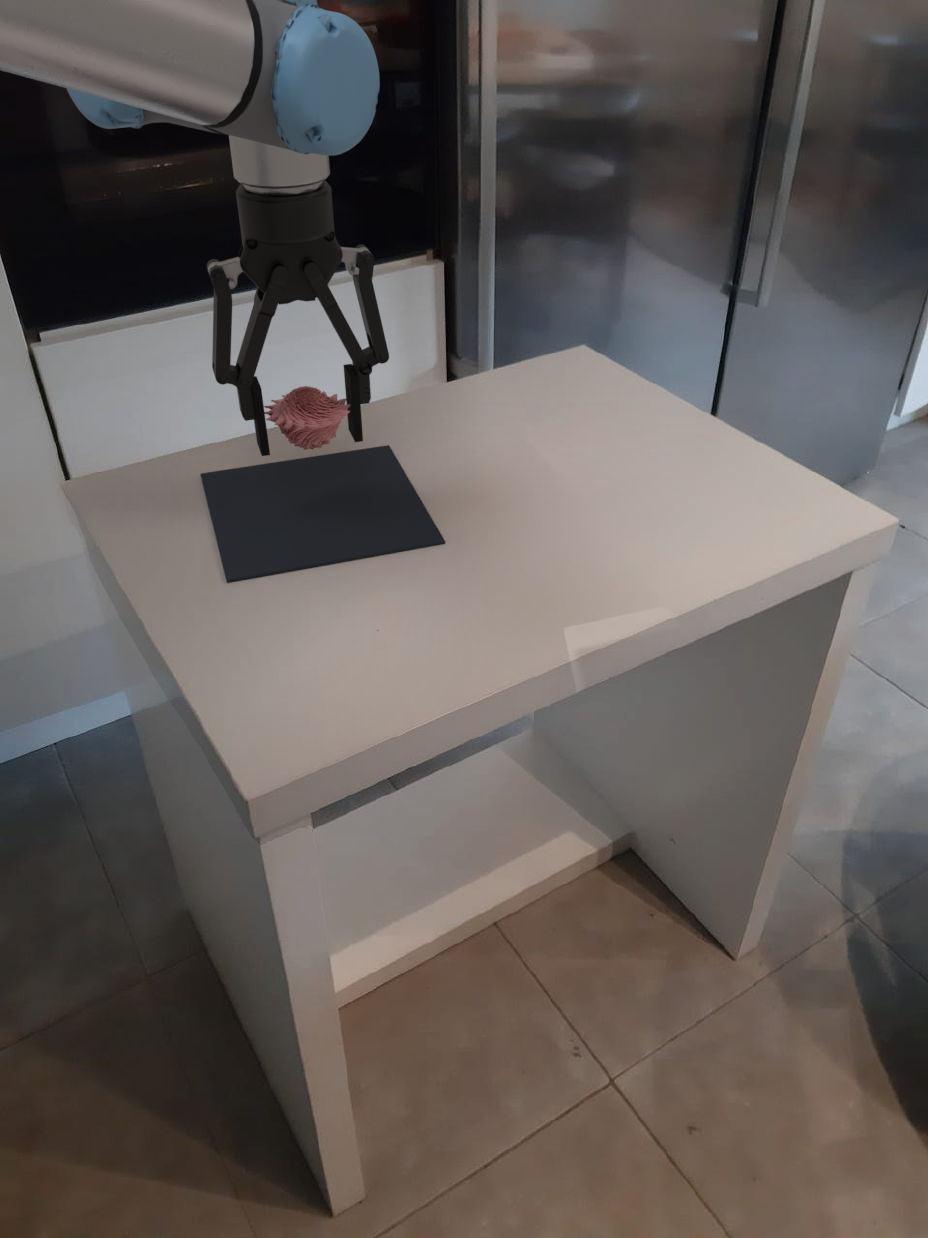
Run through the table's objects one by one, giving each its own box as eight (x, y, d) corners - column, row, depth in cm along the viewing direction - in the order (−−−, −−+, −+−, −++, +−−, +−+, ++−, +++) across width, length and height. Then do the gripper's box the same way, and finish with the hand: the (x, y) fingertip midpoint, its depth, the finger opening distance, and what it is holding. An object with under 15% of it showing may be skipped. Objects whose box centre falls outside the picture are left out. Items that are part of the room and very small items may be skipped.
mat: (226, 582, 86) (226, 580, 85) (200, 475, 101) (200, 473, 100) (445, 543, 91) (445, 540, 90) (389, 447, 106) (389, 444, 105)
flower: (262, 466, 88) (254, 408, 85) (272, 425, 94) (265, 371, 91) (351, 464, 88) (346, 407, 85) (354, 424, 95) (350, 369, 91)
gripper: (397, 161, 83) (406, 409, 97) (143, 180, 78) (192, 440, 91) (422, 182, 77) (428, 443, 91) (150, 205, 72) (201, 478, 86)
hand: (310, 441), depth 91 cm, fingers closed on flower, 8 cm apart
